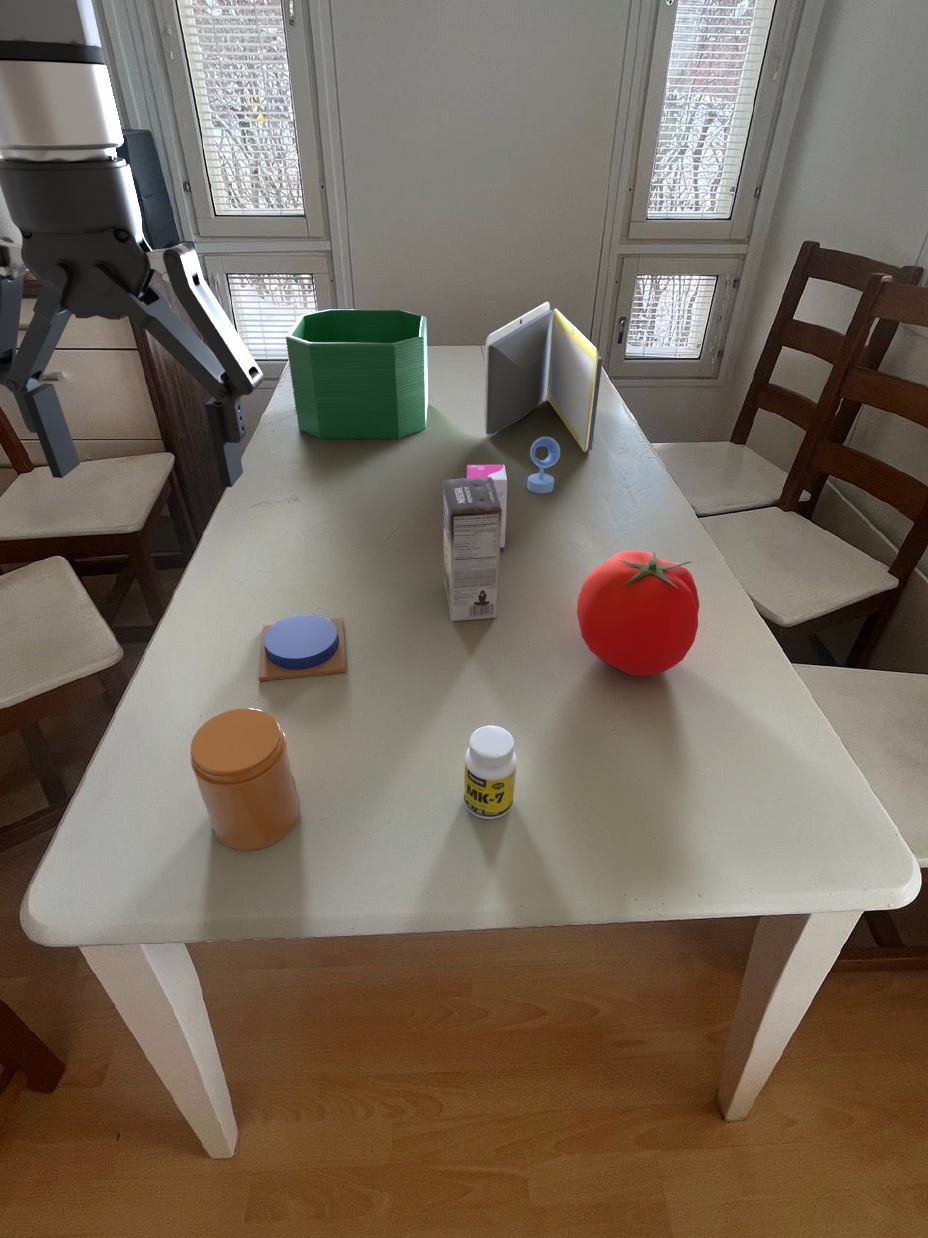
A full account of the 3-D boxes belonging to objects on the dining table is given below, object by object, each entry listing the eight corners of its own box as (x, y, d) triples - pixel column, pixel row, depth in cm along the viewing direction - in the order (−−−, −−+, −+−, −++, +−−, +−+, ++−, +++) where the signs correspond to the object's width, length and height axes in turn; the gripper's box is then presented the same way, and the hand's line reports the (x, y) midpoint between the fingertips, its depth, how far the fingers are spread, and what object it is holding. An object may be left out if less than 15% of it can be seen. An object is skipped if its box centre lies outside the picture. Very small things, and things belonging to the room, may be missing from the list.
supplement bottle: (458, 815, 65) (458, 755, 60) (470, 777, 69) (471, 717, 64) (508, 825, 65) (512, 765, 60) (517, 786, 68) (522, 727, 63)
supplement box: (502, 531, 108) (506, 463, 101) (504, 551, 103) (508, 481, 97) (465, 531, 108) (466, 463, 101) (466, 551, 103) (466, 481, 96)
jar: (207, 856, 62) (179, 780, 55) (218, 786, 68) (194, 710, 62) (298, 844, 63) (281, 768, 57) (300, 776, 69) (285, 701, 63)
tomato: (708, 689, 80) (737, 592, 71) (595, 705, 77) (612, 606, 69) (652, 610, 92) (671, 519, 84) (553, 622, 90) (563, 529, 81)
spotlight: (556, 497, 117) (552, 479, 123) (562, 441, 111) (558, 425, 117) (527, 497, 117) (525, 479, 123) (531, 441, 111) (528, 425, 117)
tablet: (604, 452, 132) (619, 347, 121) (493, 460, 129) (497, 352, 117) (554, 390, 160) (562, 300, 148) (462, 395, 157) (462, 303, 145)
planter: (293, 439, 136) (279, 343, 125) (314, 393, 157) (303, 308, 146) (425, 439, 137) (423, 344, 126) (428, 394, 157) (427, 309, 146)
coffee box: (442, 583, 97) (441, 477, 87) (487, 580, 97) (491, 475, 88) (450, 623, 89) (450, 512, 80) (499, 619, 90) (504, 509, 80)
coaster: (258, 681, 80) (258, 677, 80) (264, 629, 88) (263, 625, 88) (345, 672, 82) (345, 668, 81) (343, 621, 89) (342, 617, 89)
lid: (343, 624, 88) (342, 613, 87) (333, 670, 81) (331, 659, 80) (274, 624, 88) (272, 613, 87) (258, 669, 81) (255, 658, 80)
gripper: (279, 155, 44) (315, 463, 57) (-90, 145, 46) (26, 448, 59) (239, 163, 38) (289, 505, 51) (-184, 151, 40) (-32, 487, 53)
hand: (149, 475), depth 55 cm, fingers open, 13 cm apart
